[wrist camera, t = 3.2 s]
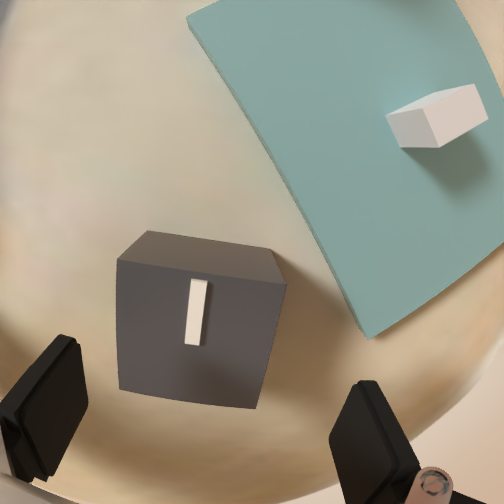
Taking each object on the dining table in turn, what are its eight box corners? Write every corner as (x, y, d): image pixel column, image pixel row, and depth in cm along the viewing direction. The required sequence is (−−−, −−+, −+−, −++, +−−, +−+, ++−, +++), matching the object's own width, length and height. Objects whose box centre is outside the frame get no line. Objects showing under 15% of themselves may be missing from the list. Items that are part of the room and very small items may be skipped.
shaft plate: (359, 328, 19) (392, 374, 14) (189, 27, 13) (175, -17, 9) (520, 210, 18) (566, 225, 13) (408, -40, 12) (445, -71, 7)
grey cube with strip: (249, 352, 19) (256, 411, 14) (141, 337, 18) (118, 392, 13) (270, 248, 17) (287, 286, 12) (147, 230, 16) (115, 260, 11)
